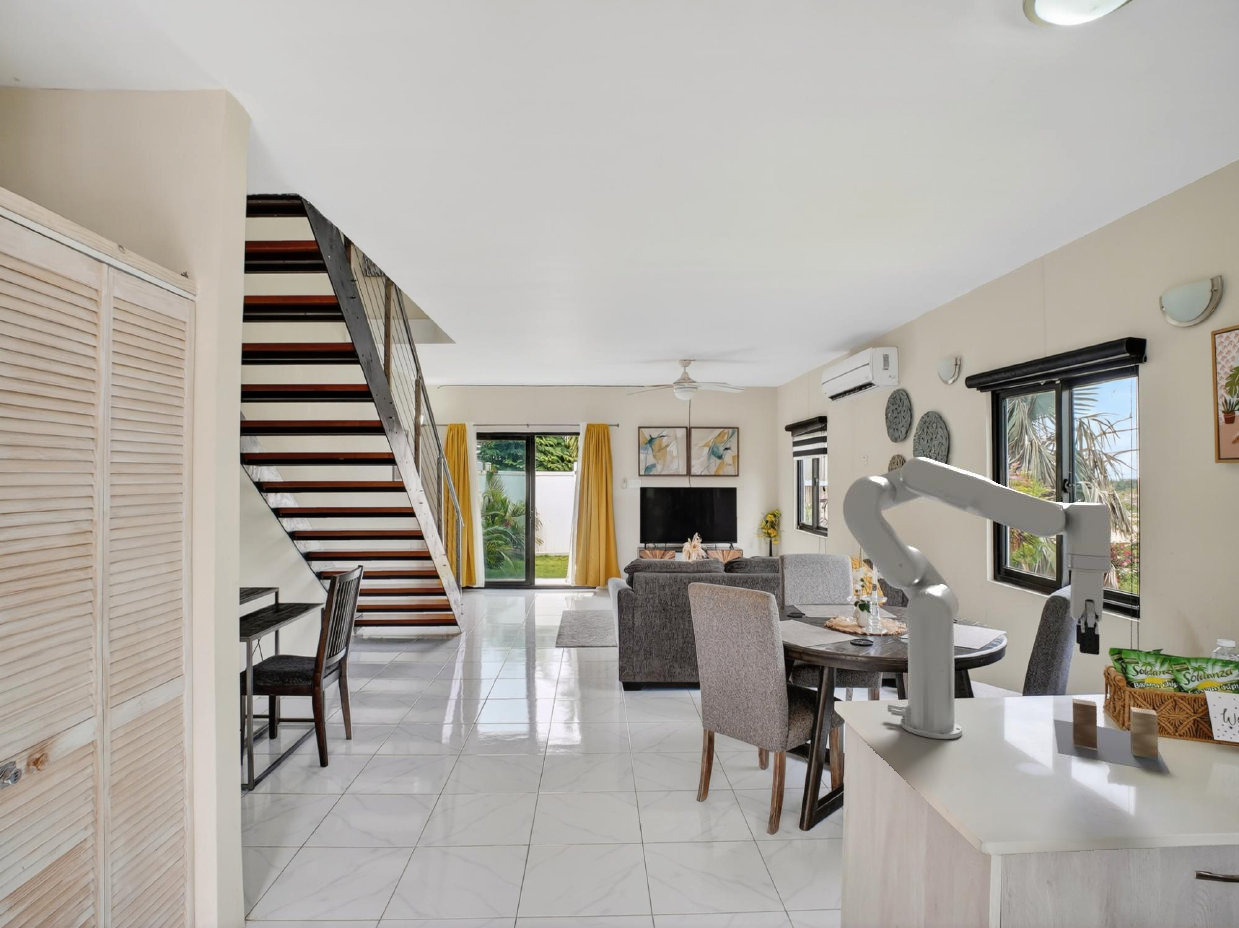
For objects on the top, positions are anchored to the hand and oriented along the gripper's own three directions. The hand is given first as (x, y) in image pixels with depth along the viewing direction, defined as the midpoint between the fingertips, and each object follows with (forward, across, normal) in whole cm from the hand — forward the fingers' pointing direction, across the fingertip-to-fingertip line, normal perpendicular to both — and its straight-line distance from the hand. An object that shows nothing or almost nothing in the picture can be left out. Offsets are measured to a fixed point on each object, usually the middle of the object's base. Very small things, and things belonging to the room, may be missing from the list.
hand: (1087, 648), depth 138 cm
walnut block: (+22, -7, 0) cm, 23 cm away
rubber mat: (+22, -11, +4) cm, 25 cm away
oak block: (+21, -7, +10) cm, 25 cm away
